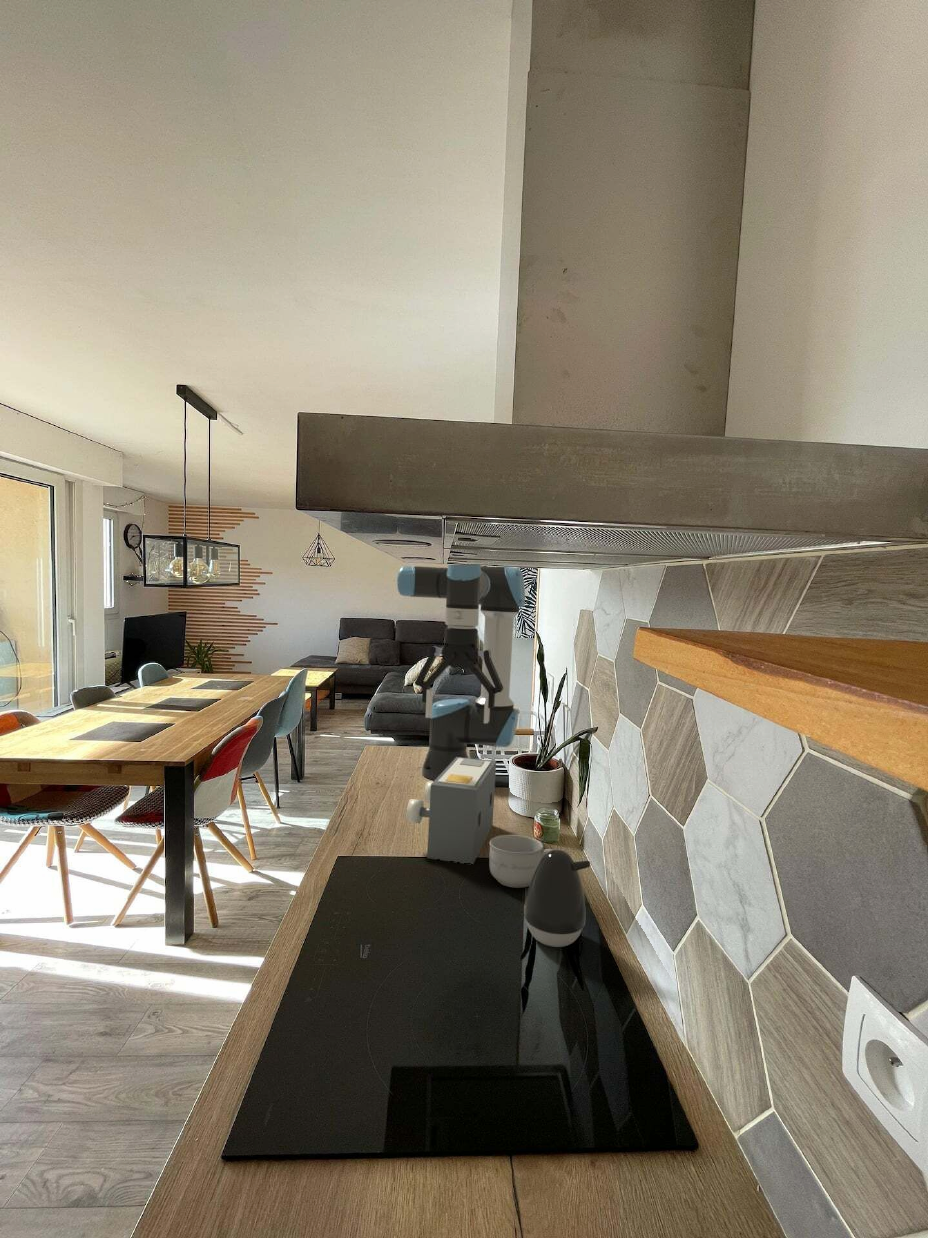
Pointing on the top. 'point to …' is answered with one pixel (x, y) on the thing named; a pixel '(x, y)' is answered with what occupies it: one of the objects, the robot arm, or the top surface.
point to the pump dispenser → (556, 900)
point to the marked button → (416, 811)
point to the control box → (461, 810)
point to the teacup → (515, 859)
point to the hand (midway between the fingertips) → (457, 719)
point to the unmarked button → (427, 792)
